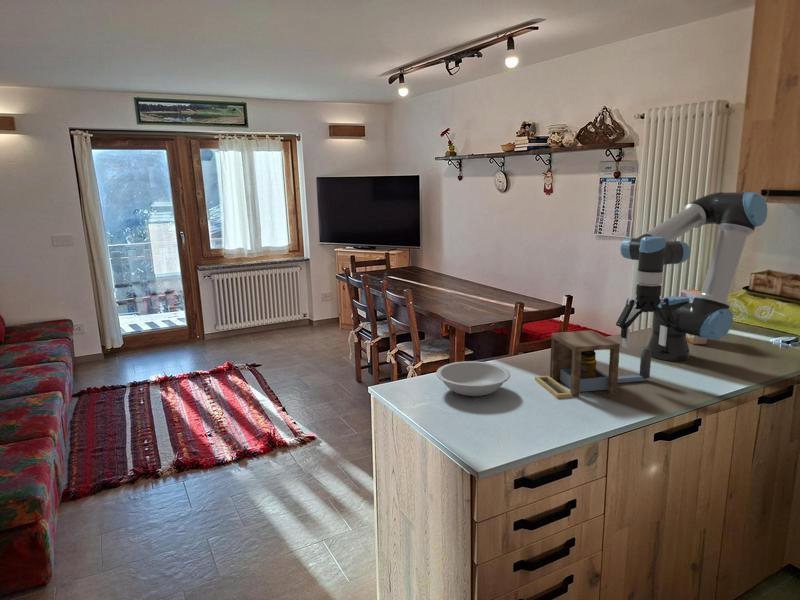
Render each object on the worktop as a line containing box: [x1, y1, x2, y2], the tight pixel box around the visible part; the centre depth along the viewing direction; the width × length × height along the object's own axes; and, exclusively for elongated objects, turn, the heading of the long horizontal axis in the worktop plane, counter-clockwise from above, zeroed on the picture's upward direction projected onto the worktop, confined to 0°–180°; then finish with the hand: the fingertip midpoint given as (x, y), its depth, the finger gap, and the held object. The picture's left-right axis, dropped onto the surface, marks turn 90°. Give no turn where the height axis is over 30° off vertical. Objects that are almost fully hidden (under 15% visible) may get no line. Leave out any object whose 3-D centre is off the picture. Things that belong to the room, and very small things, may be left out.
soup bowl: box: [435, 360, 511, 397], centre depth 177 cm, size 24×24×7 cm
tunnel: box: [549, 329, 621, 398], centre depth 179 cm, size 15×17×16 cm
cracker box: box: [680, 289, 708, 345], centre depth 227 cm, size 14×6×21 cm, turn 179°
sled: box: [559, 346, 652, 393], centre depth 181 cm, size 30×11×11 cm, turn 100°
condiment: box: [580, 350, 597, 393], centre depth 179 cm, size 7×8×12 cm
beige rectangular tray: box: [534, 375, 573, 399], centre depth 178 cm, size 5×17×1 cm, turn 10°
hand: (643, 346), depth 181 cm, fingers open, 13 cm apart
